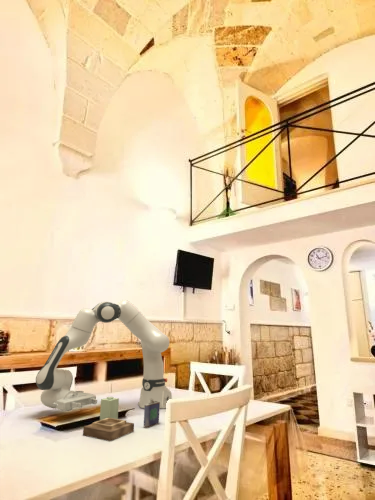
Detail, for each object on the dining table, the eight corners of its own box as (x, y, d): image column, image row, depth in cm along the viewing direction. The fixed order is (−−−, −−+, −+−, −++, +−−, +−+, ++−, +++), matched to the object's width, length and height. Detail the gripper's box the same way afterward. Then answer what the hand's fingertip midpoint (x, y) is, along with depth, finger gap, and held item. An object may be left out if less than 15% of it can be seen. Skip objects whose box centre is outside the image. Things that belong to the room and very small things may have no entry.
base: (107, 426, 140) (108, 415, 141) (133, 431, 133) (134, 420, 134) (82, 435, 128) (83, 423, 129) (110, 441, 121) (111, 428, 122)
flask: (146, 428, 137) (147, 400, 140) (141, 427, 139) (142, 399, 142) (160, 423, 145) (161, 397, 147) (155, 422, 146) (156, 396, 149)
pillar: (108, 421, 148) (109, 395, 151) (117, 422, 145) (118, 397, 148) (99, 423, 143) (101, 397, 146) (109, 425, 141) (110, 399, 143)
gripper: (50, 396, 150) (72, 400, 143) (84, 390, 167) (104, 393, 161) (49, 411, 148) (70, 415, 142) (82, 403, 166) (103, 407, 159)
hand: (88, 403), depth 152 cm, fingers open, 8 cm apart
